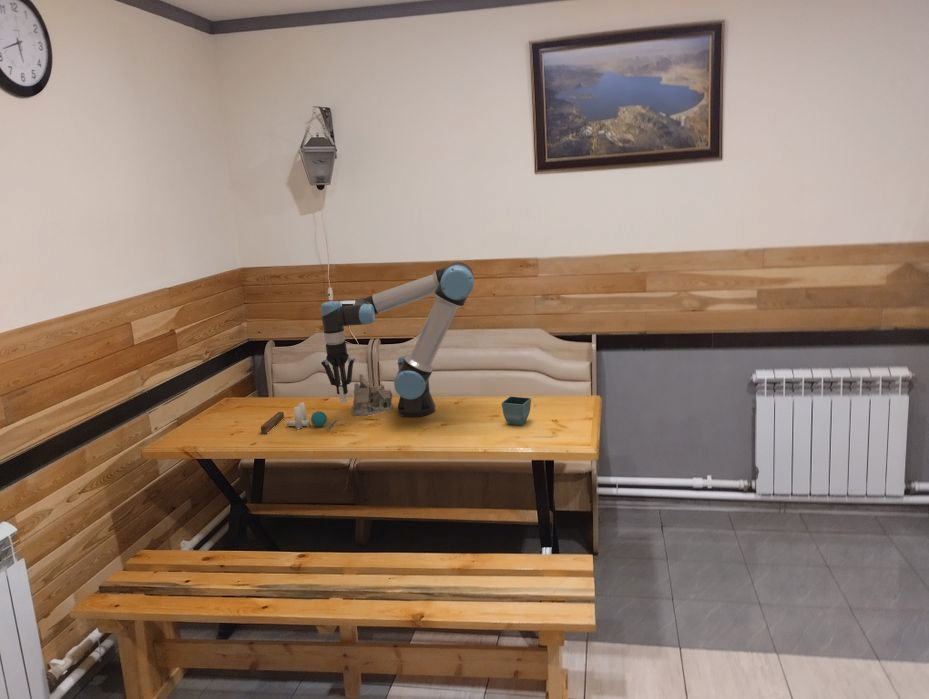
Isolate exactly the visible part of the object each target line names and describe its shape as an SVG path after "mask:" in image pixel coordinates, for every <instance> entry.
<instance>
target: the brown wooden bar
mask: <svg viewBox="0 0 929 699" xmlns="http://www.w3.org/2000/svg"><path fill="white" fill-rule="evenodd" d="M283 418H284V419H285V414H284V411H278V412H277V413H275V414H274V415H273V416H271V417H270V418H269V419H268V420H267V421H266V422H264V424H262V425H261V426H260V431H261V435H267V434H268V433H267V432H269V431H270V430H271V429H272V428H273V427H274V426H275V427H276V425H277V424H278V423H279V422H280V421H281V420H282V419H283ZM284 419H283V420H284ZM283 420H282V421H283ZM282 421H281V422H282ZM281 422H280V423H281ZM280 423H279V424H280ZM279 424H278V425H279ZM278 425H277V426H278ZM275 427H274V428H275ZM274 428H273V429H274ZM273 429H272V430H273ZM272 430H271V431H272ZM271 431H270V432H271ZM270 432H269V433H270ZM266 433H267V434H266Z"/></svg>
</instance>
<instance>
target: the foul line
mask: <svg viewBox="0 0 929 699" xmlns="http://www.w3.org/2000/svg"><path fill="white" fill-rule="evenodd" d="M336 422H337V423H338V422H339V420H338V419H337V420H333V422H332V423H331V424H330V425H329V427H327V428H326V429H325V432H329V431H331V429H332V428H333V427H334V426H335V425H336V424H337V423H336ZM335 423H336V424H335ZM334 424H335V425H334ZM333 425H334V426H333ZM332 426H333V427H332Z"/></svg>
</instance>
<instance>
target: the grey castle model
mask: <svg viewBox="0 0 929 699" xmlns="http://www.w3.org/2000/svg"><path fill="white" fill-rule="evenodd" d="M358 379H359V383H358V382H355V383H354V386H353V387H354V389H353V395H354V396H353V401H352V404H353V405H352V408H351V416H352V417H356V416H361V417H369V416H368V415H371V416H373V414H375V415H378V414H382V413H385V411H386V412H389V411H392V410H393V408H394V404H393V402H392V400H393V393H392V391H391V390H390V389H388V390H387V389H386V390H385V384H381V385H378V386H377V385H375V386H371V384H370V383H369V382H368V381H367V379H366V378H364V376H363V374H362V373H359V376H358ZM381 412H382V413H381ZM377 413H378V414H377Z"/></svg>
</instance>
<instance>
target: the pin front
mask: <svg viewBox="0 0 929 699" xmlns="http://www.w3.org/2000/svg"><path fill="white" fill-rule="evenodd" d="M310 422H311V421H310V420H307V419H306V420H302V426H309V427H310V425H311V424H310ZM287 426H296V423H295V420H286V427H287Z"/></svg>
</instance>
